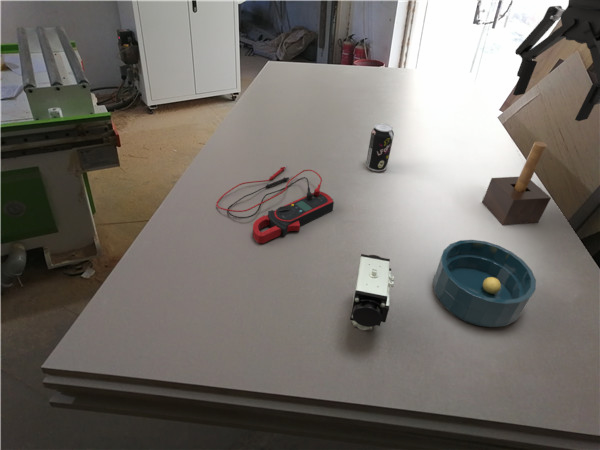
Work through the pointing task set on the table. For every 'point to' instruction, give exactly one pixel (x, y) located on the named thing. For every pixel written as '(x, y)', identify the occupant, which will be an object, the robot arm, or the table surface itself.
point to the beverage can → (379, 147)
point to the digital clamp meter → (287, 210)
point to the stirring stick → (530, 166)
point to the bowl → (469, 283)
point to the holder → (515, 201)
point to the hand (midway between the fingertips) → (548, 106)
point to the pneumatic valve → (371, 292)
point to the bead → (491, 285)
